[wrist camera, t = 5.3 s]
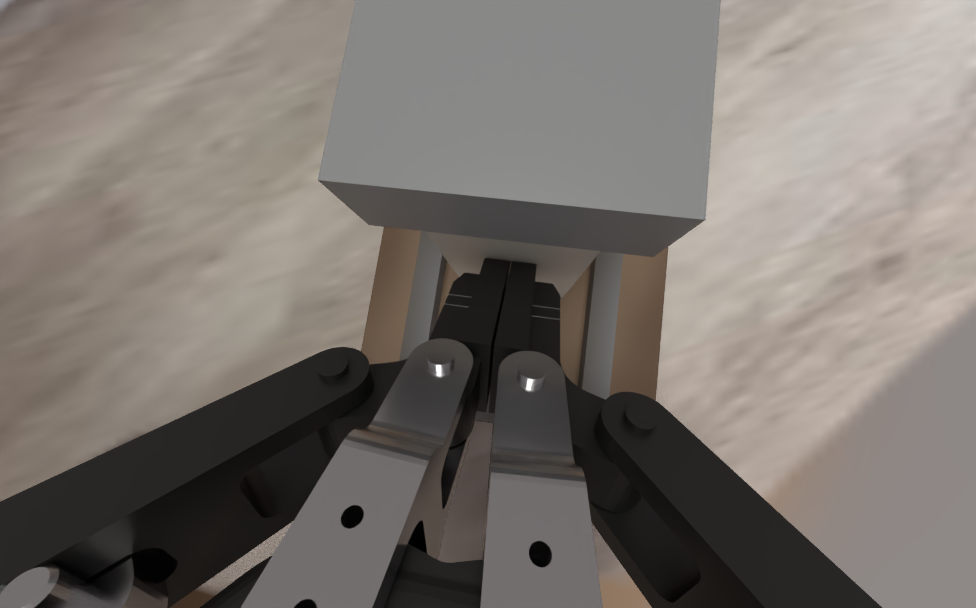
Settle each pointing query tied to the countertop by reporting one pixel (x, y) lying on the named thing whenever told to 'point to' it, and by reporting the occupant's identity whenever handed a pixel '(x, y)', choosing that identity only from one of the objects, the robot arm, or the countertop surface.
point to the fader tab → (527, 126)
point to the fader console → (583, 314)
